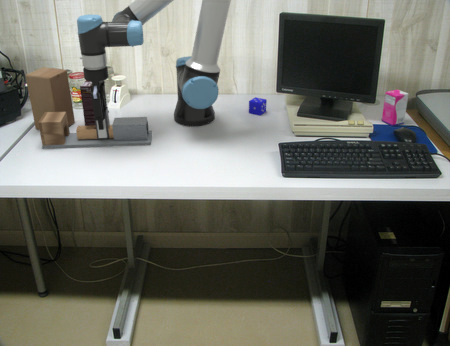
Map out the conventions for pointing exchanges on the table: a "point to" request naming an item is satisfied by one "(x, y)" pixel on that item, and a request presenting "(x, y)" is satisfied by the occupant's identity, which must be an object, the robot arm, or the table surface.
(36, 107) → the wooden block
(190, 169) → the table surface
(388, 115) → the supplement box
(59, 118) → the socket block
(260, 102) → the die
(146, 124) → the sleeve
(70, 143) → the base board
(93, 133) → the brown piece
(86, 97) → the supplement box
